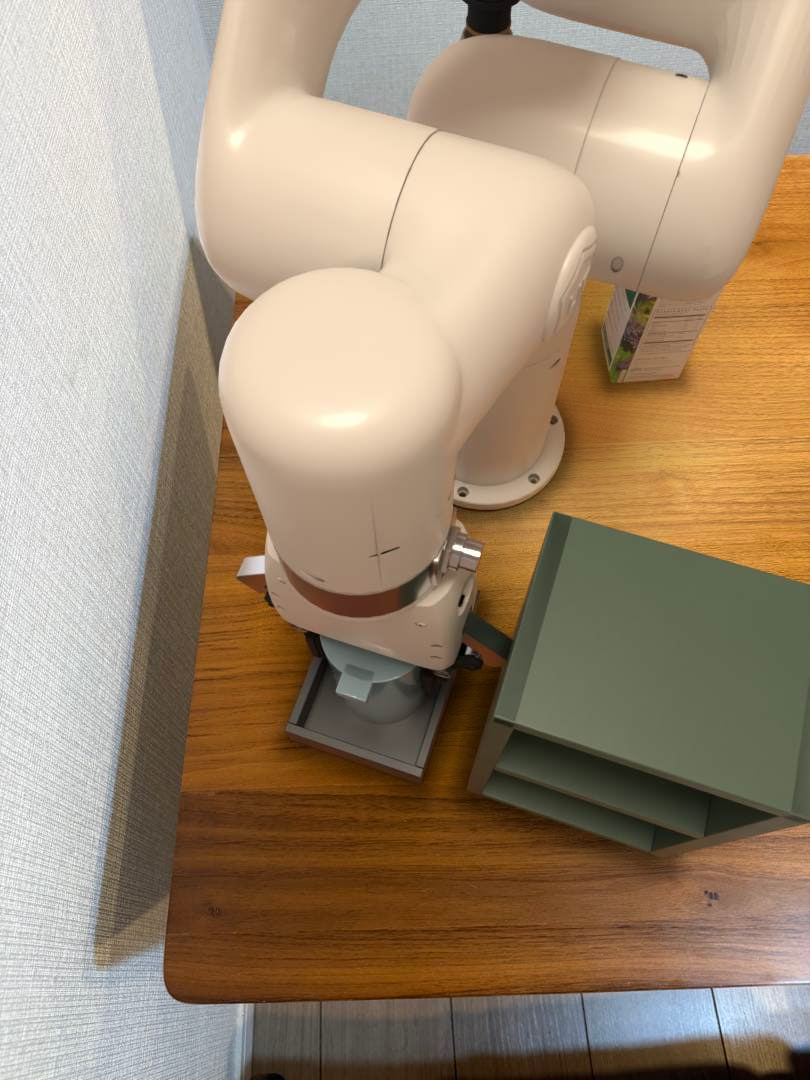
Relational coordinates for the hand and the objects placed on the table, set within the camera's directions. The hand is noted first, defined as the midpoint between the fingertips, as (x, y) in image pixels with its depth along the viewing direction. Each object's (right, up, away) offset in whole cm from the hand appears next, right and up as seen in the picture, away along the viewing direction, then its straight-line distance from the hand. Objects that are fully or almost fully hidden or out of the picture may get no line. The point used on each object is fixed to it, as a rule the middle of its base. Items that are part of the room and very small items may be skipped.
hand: (380, 651), depth 51 cm
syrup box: (+21, +22, +17) cm, 35 cm away
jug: (0, -3, +5) cm, 6 cm away
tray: (0, -2, +6) cm, 7 cm away
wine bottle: (+7, +26, +20) cm, 34 cm away
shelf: (+13, -7, +4) cm, 15 cm away
